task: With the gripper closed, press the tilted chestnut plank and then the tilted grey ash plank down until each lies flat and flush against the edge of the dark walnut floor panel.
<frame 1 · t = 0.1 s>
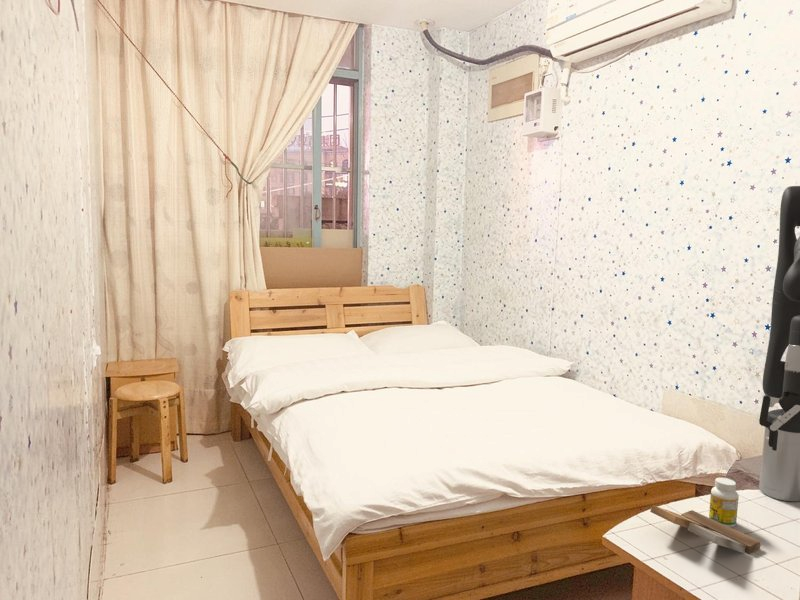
grey ash plank: (717, 537, 116), point 3 cm above the table, hinge at 25.0°
supplement bottle: (722, 522, 130), on the table
walnut panel: (718, 534, 124), on the table
chestnut plank: (678, 519, 123), point 3 cm above the table, hinge at 25.0°
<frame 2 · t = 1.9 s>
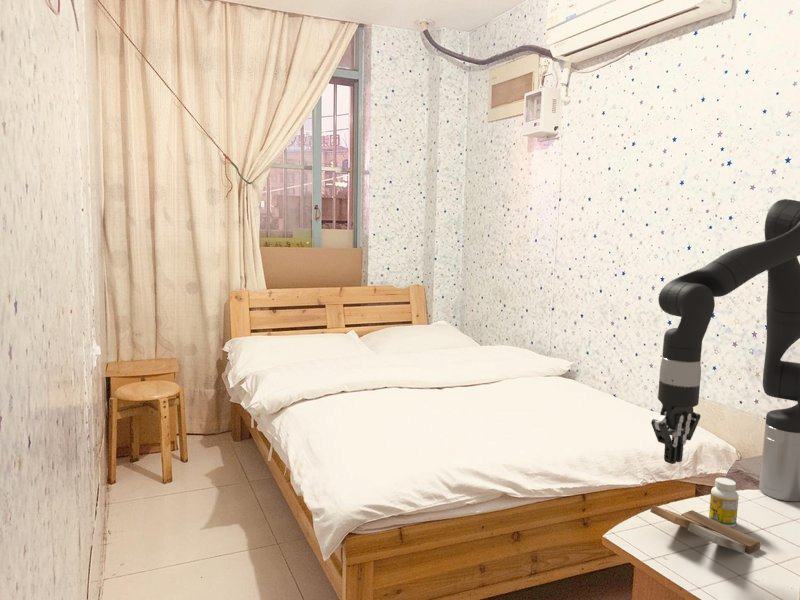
hand: (673, 461, 120), 17 cm above the table, tool pointing down, fingers closed
nothing on the table moved.
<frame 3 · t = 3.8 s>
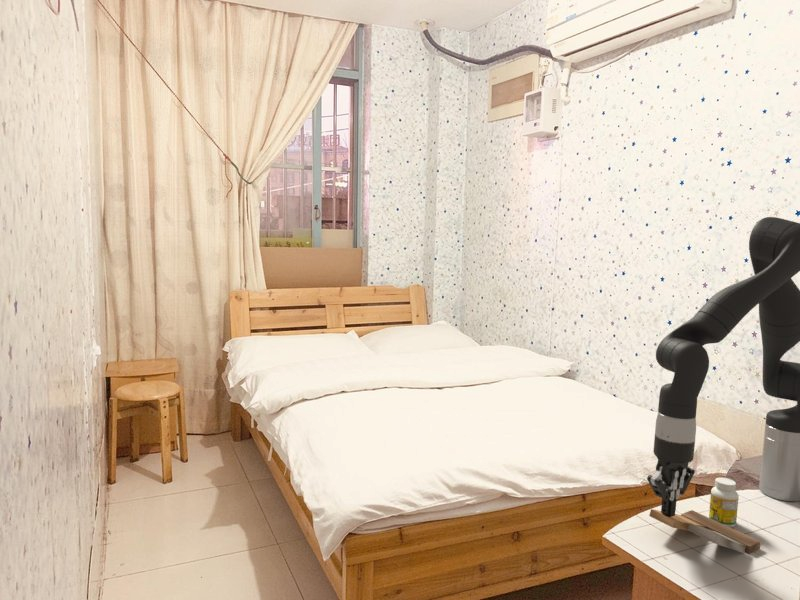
hand: (668, 515, 121), 5 cm above the table, tool pointing down, fingers closed
chestnut plank: (677, 521, 123), point 3 cm above the table, hinge at 20.7°, touching gripper
everything else where it was.
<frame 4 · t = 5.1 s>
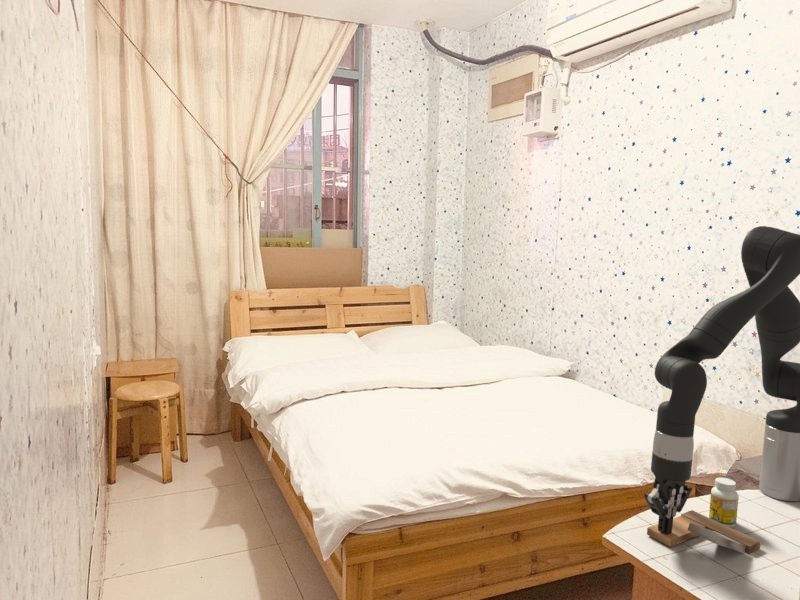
hand: (664, 532, 121), 2 cm above the table, tool pointing down, fingers closed
chestnut plank: (676, 530, 124), point 1 cm above the table, hinge at 1.4°, touching gripper
everything else where it was.
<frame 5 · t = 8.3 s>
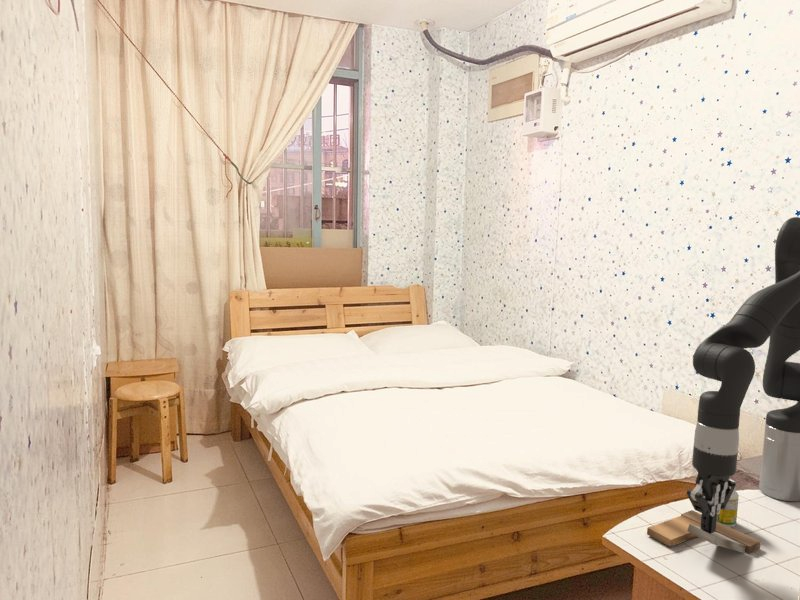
hand: (707, 531, 114), 6 cm above the table, tool pointing down, fingers closed
grey ash plank: (716, 538, 116), point 3 cm above the table, hinge at 23.9°, touching gripper
chestnut plank: (676, 530, 124), point 1 cm above the table, hinge at 1.3°
everything else where it was.
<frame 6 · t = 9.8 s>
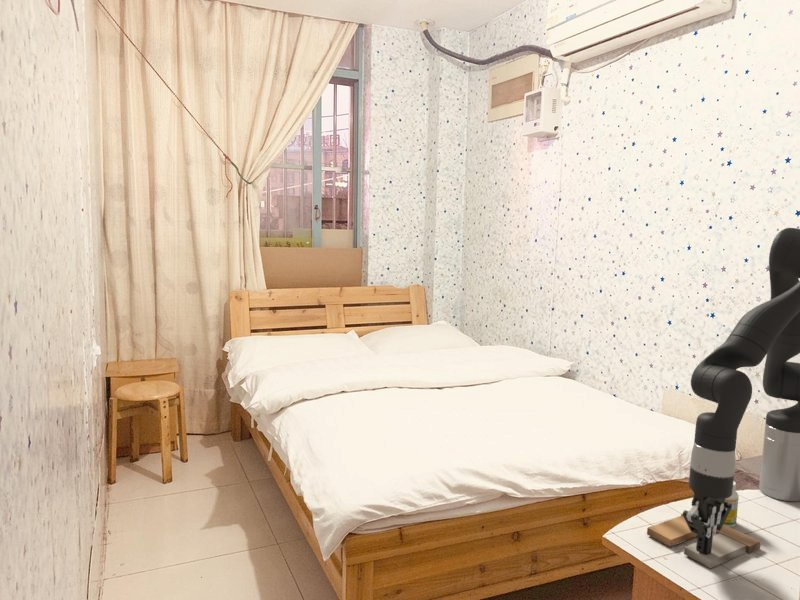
hand: (703, 552, 114), 2 cm above the table, tool pointing down, fingers closed
grey ash plank: (715, 549, 116), point 1 cm above the table, hinge at 1.3°, touching gripper
everything else where it was.
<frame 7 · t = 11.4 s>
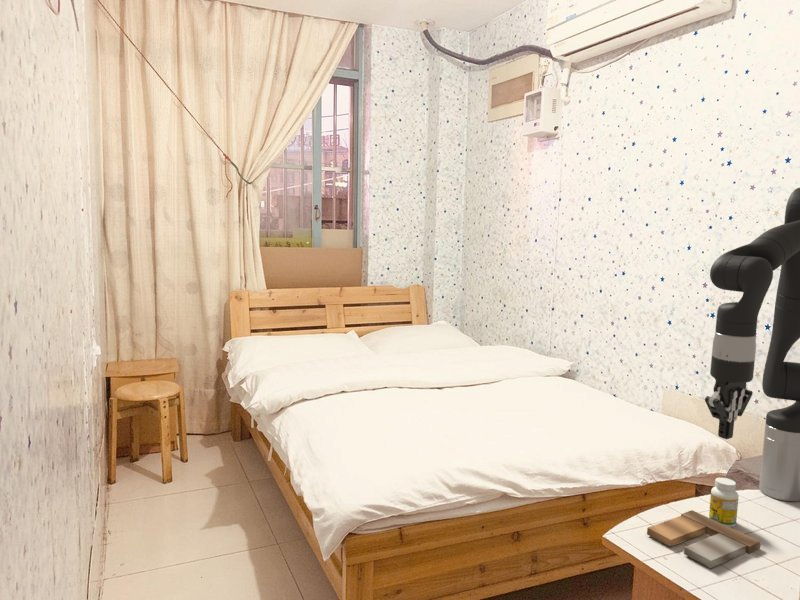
hand: (725, 437, 119), 23 cm above the table, tool pointing down, fingers closed
grey ash plank: (715, 549, 116), point 1 cm above the table, hinge at 1.3°
everything else where it was.
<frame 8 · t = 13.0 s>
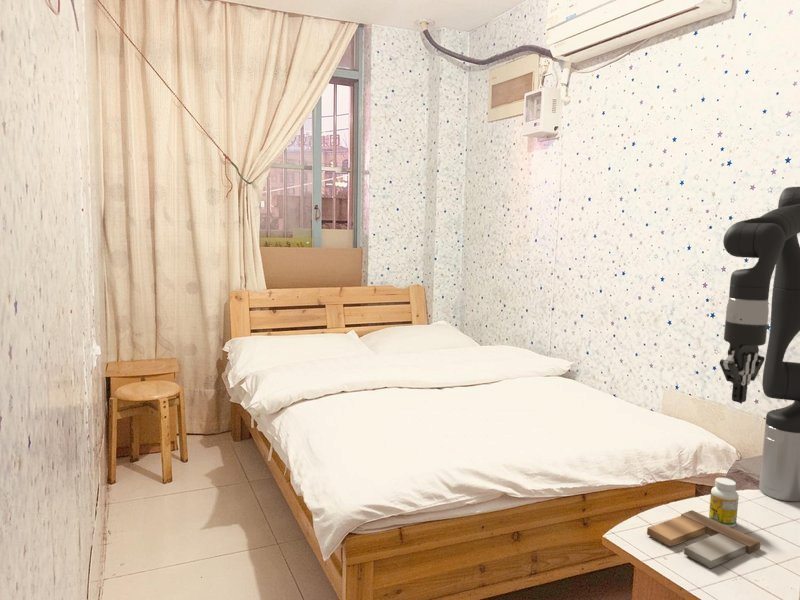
hand: (738, 401, 122), 29 cm above the table, tool pointing down, fingers closed
nothing on the table moved.
at the end: chestnut plank at +1° (first picture: +25°); grey ash plank at +1° (first picture: +25°); supplement bottle moved 0.2 cm from its start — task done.
